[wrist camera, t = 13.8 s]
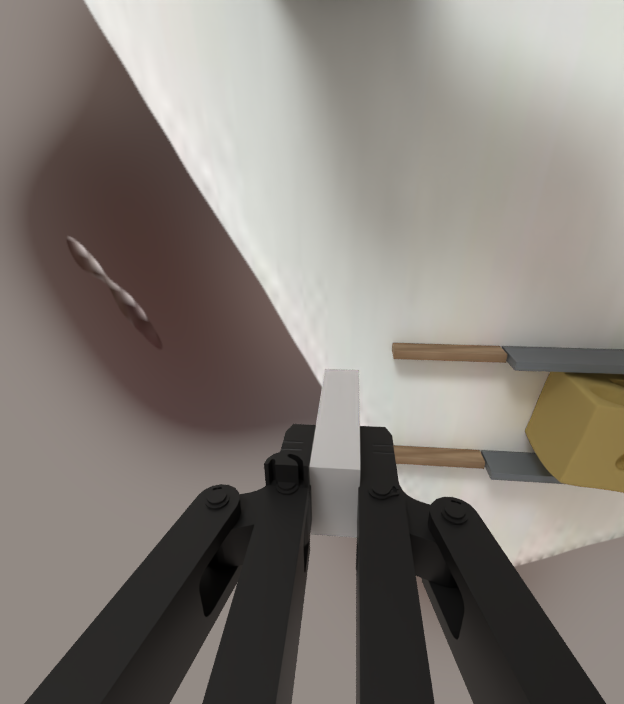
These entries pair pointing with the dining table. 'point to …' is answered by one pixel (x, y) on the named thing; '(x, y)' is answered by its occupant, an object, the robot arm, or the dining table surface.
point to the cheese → (581, 429)
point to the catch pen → (550, 360)
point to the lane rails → (446, 354)
